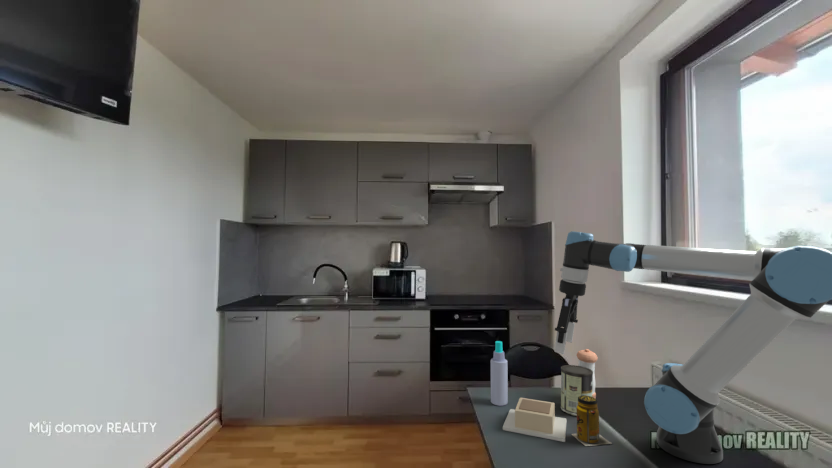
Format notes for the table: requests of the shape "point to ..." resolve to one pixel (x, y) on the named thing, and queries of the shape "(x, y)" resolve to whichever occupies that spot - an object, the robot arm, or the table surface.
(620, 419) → the table surface
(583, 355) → the pepper shaker
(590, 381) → the coffee can
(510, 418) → the structure base
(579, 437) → the condiment
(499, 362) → the spray bottle
